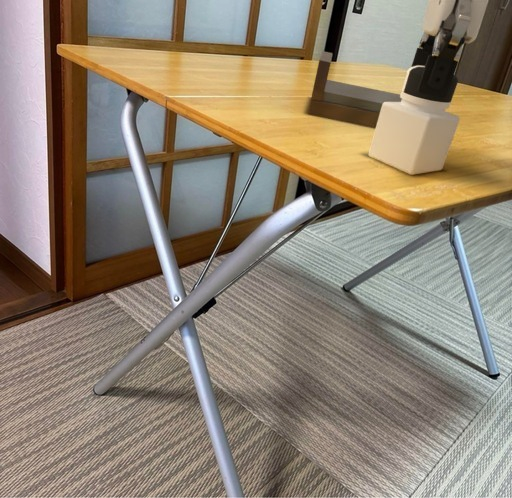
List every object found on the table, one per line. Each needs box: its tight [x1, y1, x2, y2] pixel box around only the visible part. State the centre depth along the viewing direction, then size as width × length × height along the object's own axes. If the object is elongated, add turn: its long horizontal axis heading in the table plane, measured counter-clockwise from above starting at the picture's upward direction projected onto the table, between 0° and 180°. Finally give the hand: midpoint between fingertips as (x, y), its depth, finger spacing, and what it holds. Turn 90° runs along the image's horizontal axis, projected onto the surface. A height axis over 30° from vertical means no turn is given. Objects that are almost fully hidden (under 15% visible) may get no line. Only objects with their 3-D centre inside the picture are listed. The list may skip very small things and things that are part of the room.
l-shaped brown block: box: [307, 51, 402, 129], centre depth 87 cm, size 16×14×8 cm
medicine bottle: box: [368, 65, 461, 176], centre depth 64 cm, size 7×7×12 cm
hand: (424, 88), depth 62 cm, fingers open, 9 cm apart
